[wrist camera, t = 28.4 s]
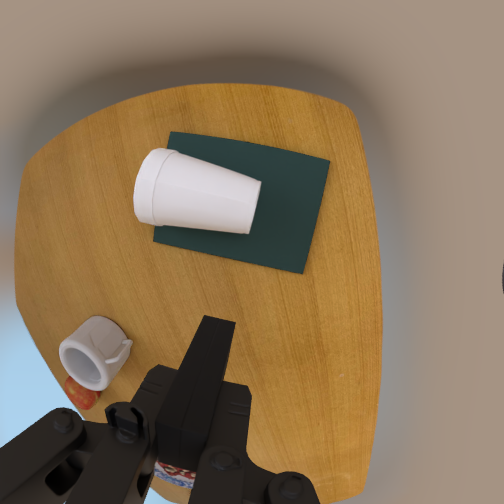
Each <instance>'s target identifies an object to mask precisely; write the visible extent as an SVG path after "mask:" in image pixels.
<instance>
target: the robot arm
mask: <svg viewBox="0 0 504 504" xmlns="http://www.w3.org/2000/svg"><path fill="white" fill-rule="evenodd" d="M235 324H236V322H232V321H228V320H223V319H219V318H215V317H211V316H207V315H204V317H203V319H202V321H201V323H200V325H199V327H198V329H197V331H196V333H195V336H194V338H193V340H192V342H191V344H190V346H189V348H188V350H187V352H186V355H185V357H184V359H183V361H182V363H181V365H180V367H179V369H178V370H176V369H173V368H169V367H166V366H163V365H160V364H158V365H157V366H155V367H154V368H152V369H151V370H149V372H148V373H147V375H146V377H145V378H144V381H143V382H142V383H141V385H140V388H138V390H137V392H136V394H135V395H134V397H133V399H132V400H131V402H130V403H129V402H116V403H113V404H111V405H109V406H108V407H107V408H106V409H105V414H106V418H107V421H108V423H96V422H90V421H85V420H82V418H81V417H80V416H79V414H78V413H77V412H75V411H73V410H72V409H69V408H64V407H63V408H56V409H54V410H52V411H50V412H49V413H48V414H46V415H45V416H44V417H42V418H41V419H40V420H38V421H37V422H35V423H34V424H33V425H31V426H30V427H28V428H27V429H26V430H24V431H23V432H22V433H20V434H19V435H18V436H16V437H15V438H13V439H12V440H11V441H10V442H8V443H7V444H5V445H4V446H3V447H1V448H0V504H64V503H65V504H143V503H144V500H145V498H146V495H147V492H148V490H149V487H150V484H151V482H152V479H153V476H154V470H155V469H154V466H155V463H156V461H157V458H158V462H160V463H163V464H166V465H170V466H173V467H177V468H180V469H184V470H188V471H192V472H196V475H195V479H194V483H193V487H192V491H191V494H190V498H189V502H188V504H320V502H319V499H318V497H317V494H316V492H315V489H314V486H313V484H312V483H311V481H310V480H309V479H308V478H307V477H306V476H304V475H303V474H300V473H297V472H288V471H286V472H282V473H279V474H275V473H272V472H270V471H267V470H265V469H262V468H260V467H258V466H257V465H255V464H254V463H253V462H252V461H251V460H250V458H249V457H248V454H247V452H246V445H247V436H248V427H249V418H250V417H249V416H250V409H251V408H250V407H251V400H252V395H251V393H250V390H249V388H248V386H246V385H241V384H236V383H231V382H227V381H223V379H224V375H225V371H226V367H227V362H228V357H229V353H230V348H231V343H232V338H233V333H234V329H235Z"/></svg>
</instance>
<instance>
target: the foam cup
mask: <svg viewBox="0 0 504 504" xmlns="http://www.w3.org/2000/svg"><path fill="white" fill-rule="evenodd" d="M260 187H261V181H257V180H256V179H254V178H251V177H248V176H246V175H243V174H240V173H237V172H234V171H232V170H229V169H226V168H223V167H220V166H217V165H214V164H211V163H209V162H206V161H203V160H199V159H196V158H193V157H190V156H187V155H184V154H181V153H179V152H178V151H176V150H170V149H164V148H158V149H155V150H152V151H151V152H150V153H149V155H148V156H147V157H146V158H145V160H144V161H143V163H142V165H141V168H140V170H139V173H138V175H137V178H136V183H135V189H134V196H133V200H134V212H135V214H136V216H137V218H138V220H139V221H140V222H144V223H148V224H152V225H156V226H163V225H169V226H178V227H188V228H197V229H206V230H215V231H224V232H232V233H241V234H243V233H245V234H249V231H250V228H251V224H252V221H253V217H254V213H255V209H256V205H257V201H258V196H259V192H260Z"/></svg>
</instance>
